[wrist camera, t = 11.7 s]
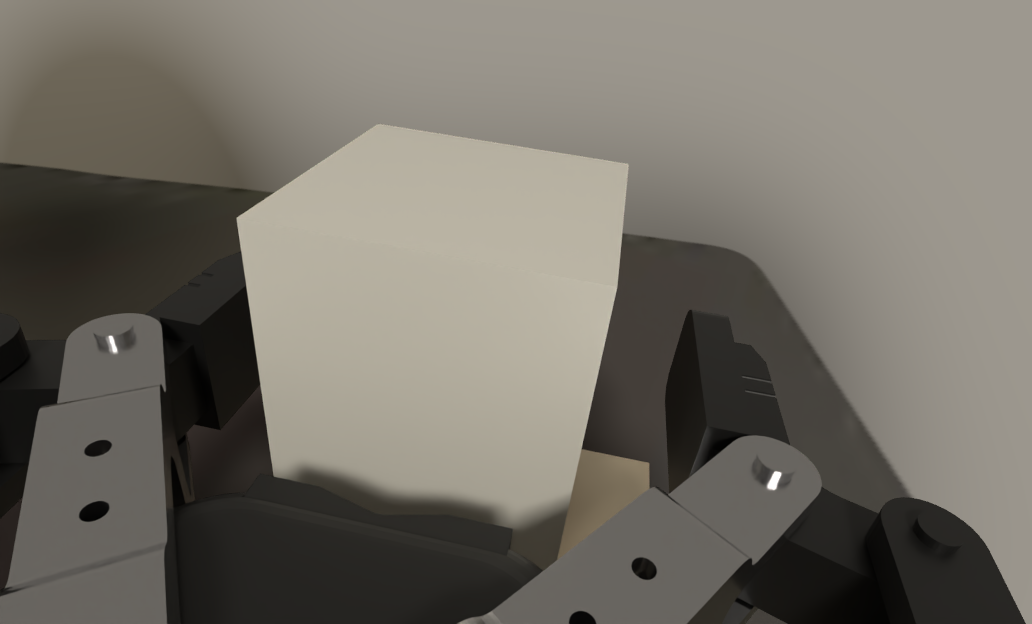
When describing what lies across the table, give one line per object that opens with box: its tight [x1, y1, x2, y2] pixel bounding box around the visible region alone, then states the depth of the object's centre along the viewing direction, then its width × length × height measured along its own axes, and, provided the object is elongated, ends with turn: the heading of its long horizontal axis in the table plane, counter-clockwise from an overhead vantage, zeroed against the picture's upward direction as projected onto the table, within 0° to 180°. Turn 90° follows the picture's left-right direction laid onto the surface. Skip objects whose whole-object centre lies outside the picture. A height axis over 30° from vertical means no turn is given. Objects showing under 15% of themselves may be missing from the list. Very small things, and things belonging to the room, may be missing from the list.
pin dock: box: [557, 449, 649, 560], centre depth 14 cm, size 10×14×4 cm
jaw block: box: [237, 124, 629, 571], centre depth 12 cm, size 4×4×11 cm
